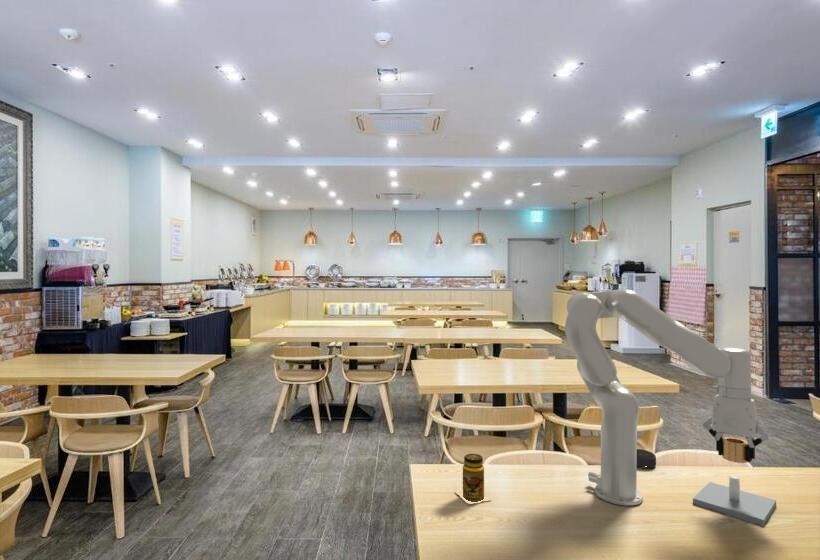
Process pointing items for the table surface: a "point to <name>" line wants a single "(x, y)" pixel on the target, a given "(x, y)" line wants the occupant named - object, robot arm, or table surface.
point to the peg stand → (735, 501)
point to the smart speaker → (645, 459)
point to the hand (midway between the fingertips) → (735, 456)
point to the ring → (734, 449)
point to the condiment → (473, 478)
